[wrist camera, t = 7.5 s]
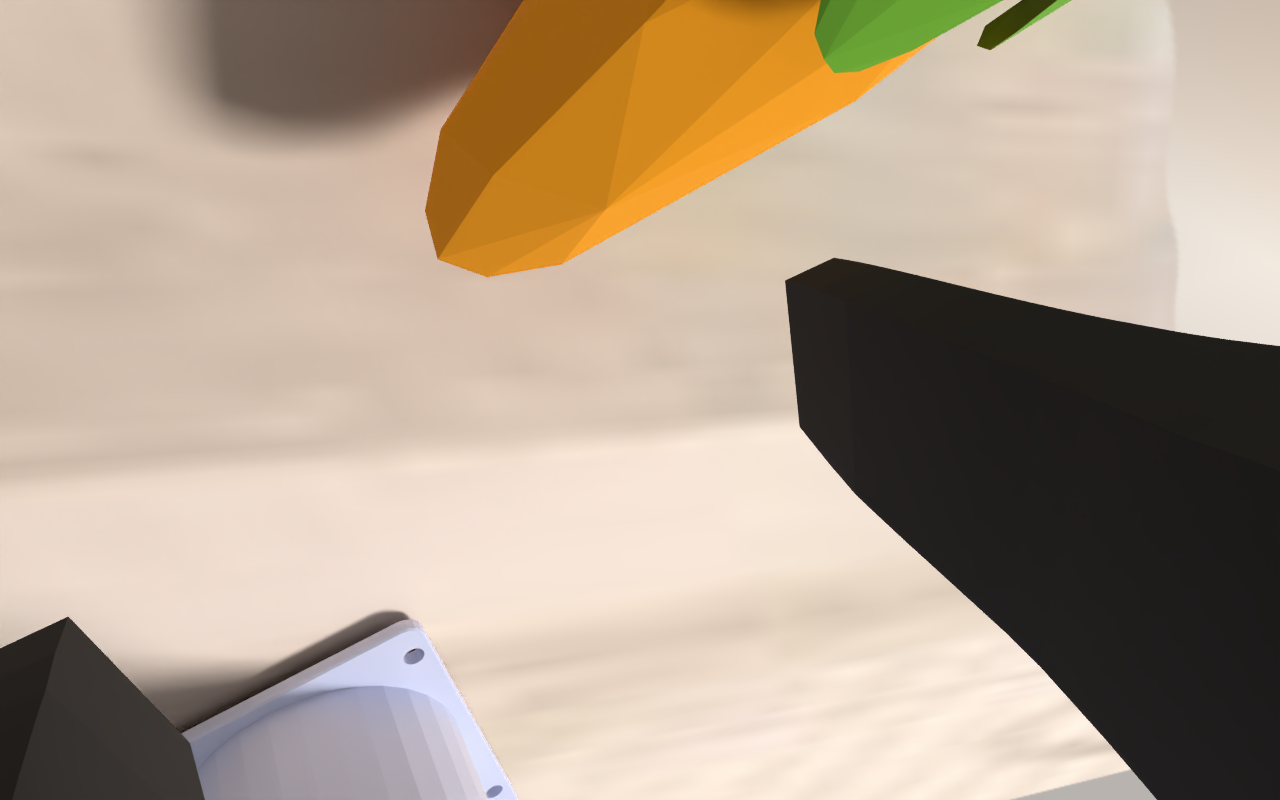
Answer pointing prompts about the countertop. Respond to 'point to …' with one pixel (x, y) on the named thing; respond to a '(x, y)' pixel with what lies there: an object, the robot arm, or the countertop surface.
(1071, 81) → the countertop surface
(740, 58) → the corn
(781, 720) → the countertop surface
